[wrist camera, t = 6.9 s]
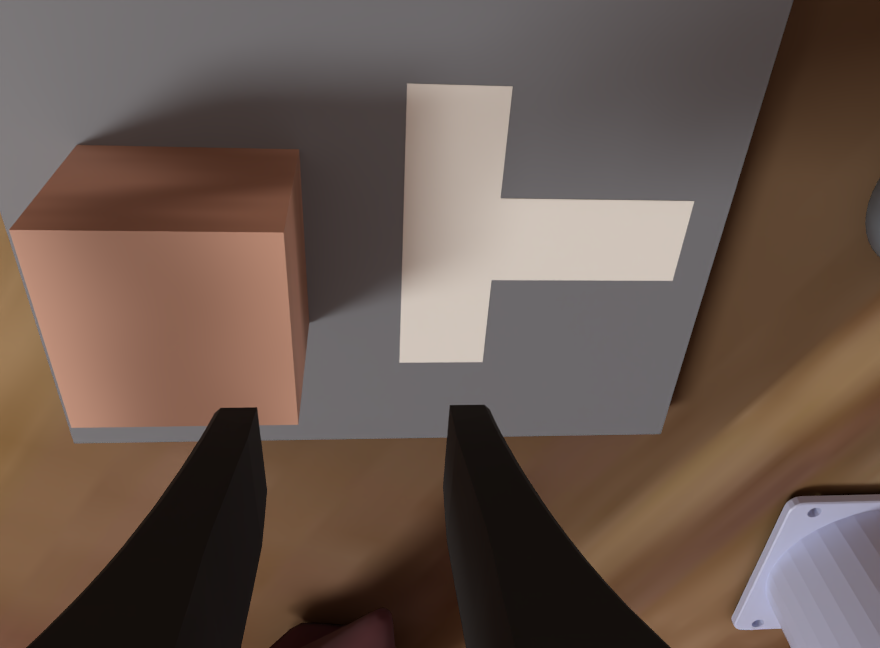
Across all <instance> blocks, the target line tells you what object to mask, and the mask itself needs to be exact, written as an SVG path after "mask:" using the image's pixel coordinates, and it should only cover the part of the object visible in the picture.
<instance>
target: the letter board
mask: <svg viewBox="0 0 880 648" xmlns="http://www.w3.org/2000/svg"><path fill="white" fill-rule="evenodd" d="M792 3H793V0H0V212H1V215H2V218H3V221H4V225H5V228H6V231H7V234H8V237H9V240H10V243H11V247H12V250H13V253H14V256H15V259H16V262H17V265H18V269H19V272H20V275H21V278H22V281H23V284H24V287H25V291H26V294H27V297H28V300H29V303H30V306H31V309H32V313H33V316H34V319H35V322H36V325H37V328H38V331H39V335H40V338H41V341H42V344H43V347H44V350H45V353H46V357H47V360H48V363H49V366H50V369H51V372H52V375H53V379H54V382H55V385H56V388H57V391H58V394H59V397H60V401H61V404H62V407H63V410H64V413H65V416H66V419H67V423H68V426H69V429H70V432H71V435H72V438H73V441H74V443H124V442H187V441H199V439H200V438H201V436H202V434H203V433H204V431H205V429H206V427H207V426H171V427H98V428H71V425H70V422H69V419H68V415H67V412H66V409H65V406H64V403H63V400H62V396H61V393H60V390H59V387H58V384H57V381H56V377H55V374H54V371H53V368H52V365H51V362H50V358H49V355H48V352H47V349H46V346H45V342H44V339H43V336H42V333H41V330H40V327H39V323H38V320H37V317H36V314H35V311H34V308H33V304H32V301H31V298H30V295H29V292H28V289H27V285H26V282H25V279H24V276H23V273H22V269H21V266H20V263H19V260H18V257H17V254H16V250H15V247H14V244H13V241H12V238H11V235H10V231H9V229H10V228H11V227H12V226H13V224H14V223H15V222H16V221H17V219H18V218H19V217H20V216H21V214H22V213H23V212H24V210H25V209H26V208H27V207H28V205H29V204H30V203H31V202H32V200H33V199H34V198H35V197H36V195H37V194H38V193H39V192H40V190H41V189H42V188H43V187H44V185H45V184H46V183H47V182H48V180H49V179H50V178H51V177H52V175H53V174H54V173H55V171H56V170H57V169H58V168H59V166H60V165H61V164H62V163H63V161H64V160H65V159H66V158H67V156H68V155H69V154H70V153H71V151H72V150H73V149H74V148H75V146H76V145H105V146H156V147H206V148H256V149H299V155H300V172H301V190H302V207H303V224H304V241H305V258H306V275H307V293H308V310H309V330H308V339H307V349H306V358H305V367H304V376H303V386H302V395H301V404H300V413H299V422H298V425H259V427H260V436H261V440H313V439H376V438H439V437H447V432H448V420H449V408H450V405H485V406H487V407H488V408H489V409H490V411H491V413H492V415H493V417H494V420H495V422H496V424H497V426H498V428H499V430H500V432H501V434H502V436H565V435H628V434H661V431H662V428H663V424H664V421H665V418H666V415H667V411H668V408H669V405H670V402H671V398H672V395H673V392H674V388H675V385H676V382H677V379H678V375H679V372H680V369H681V366H682V362H683V359H684V356H685V353H686V349H687V346H688V343H689V340H690V336H691V333H692V330H693V326H694V323H695V320H696V317H697V313H698V310H699V307H700V304H701V300H702V297H703V294H704V291H705V287H706V284H707V281H708V277H709V274H710V271H711V268H712V264H713V261H714V258H715V255H716V251H717V248H718V245H719V242H720V238H721V235H722V232H723V229H724V225H725V222H726V219H727V215H728V212H729V209H730V206H731V202H732V199H733V196H734V193H735V189H736V186H737V183H738V180H739V176H740V173H741V170H742V166H743V163H744V160H745V157H746V153H747V150H748V147H749V144H750V140H751V137H752V134H753V131H754V127H755V124H756V121H757V117H758V114H759V111H760V108H761V104H762V101H763V98H764V95H765V91H766V88H767V85H768V82H769V78H770V75H771V72H772V69H773V65H774V62H775V59H776V55H777V52H778V49H779V46H780V42H781V39H782V36H783V33H784V29H785V26H786V23H787V20H788V16H789V13H790V10H791V6H792Z"/></svg>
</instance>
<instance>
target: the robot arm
mask: <svg viewBox="0 0 880 648" xmlns="http://www.w3.org/2000/svg"><path fill="white" fill-rule="evenodd" d="M443 492H444V507H445V522H446V535H447V544H448V550H449V556H450V561H451V567H452V572H453V578H454V584H455V589H456V595H457V600H458V606H459V611H460V617H461V622H462V628H463V633H464V639H465V644H466V648H670V647H669V646H668V645H667V644H666V643H665V642H664V641H663V640H662V639H661V638H660V637H659V636H658V635H657V634H656V633H655V632H654V631H653V630H652V629H651V628H650V627H649V626H648V625H647V624H646V623H645V622H644V621H642V620H641V619H640V618H639V617H638V616H637V615H636V614H635V613H634V612H633V611H632V610H631V609H630V608H629V607H628V606H627V605H626V604H625V603H624V602H623V600H622V599H621V598H620V597H619V596H618V595H617V594H616V593H615V592H614V591H613V590H612V589H611V587H610V586H609V585H608V584H607V583H606V582H605V581H604V580H603V579H602V577H601V576H600V575H599V574H598V573H597V572H596V570H595V569H594V568H593V567H592V566H591V565H590V564H589V562H588V561H587V560H586V559H585V558H584V556H583V555H582V554H581V553H580V551H579V550H578V549H577V548H576V546H575V545H574V544H573V543H572V541H571V540H570V539H569V537H568V536H567V535H566V533H565V532H564V531H563V529H562V528H561V527H560V525H559V524H558V523H557V521H556V520H555V519H554V517H553V516H552V514H551V513H550V511H549V510H548V509H547V507H546V506H545V504H544V503H543V501H542V500H541V498H540V497H539V495H538V494H537V492H536V491H535V489H534V488H533V486H532V485H531V483H530V481H529V480H528V478H527V477H526V475H525V474H524V472H523V470H522V469H521V467H520V466H519V464H518V462H517V460H516V459H515V457H514V455H513V454H512V452H511V450H510V448H509V447H508V445H507V443H506V441H505V439H504V437H503V436H502V434H501V432H500V430H499V428H498V426H497V424H496V422H495V420H494V417H493V415H492V413H491V411H490V409H489V408H488V407H487V406H485V405H450V408H449V420H448V432H447V445H446V457H445V470H444V482H443ZM266 496H267V486H266V478H265V469H264V461H263V452H262V444H261V436H260V427H259V419H258V410H257V407H245V408H220V409H219V410H217V411H216V412H215V413H214V415H213V417H212V419H211V420H210V422H209V424H208V426H207V427H206V429H205V431H204V433H203V434H202V436H201V438H200V439H199V441H198V443H197V444H196V446H195V447H194V449H193V451H192V452H191V454H190V455H189V457H188V458H187V460H186V461H185V463H184V464H183V466H182V468H181V469H180V471H179V472H178V473H177V475H176V476H175V478H174V479H173V481H172V482H171V483H170V485H169V486H168V488H167V489H166V491H165V492H164V493H163V495H162V496H161V498H160V499H159V501H158V502H157V503H156V505H155V506H154V507H153V509H152V510H151V511H150V513H149V514H148V515H147V516H146V518H145V519H144V520H143V521H142V523H141V524H140V525H139V527H138V528H137V529H136V530H135V532H134V533H133V534H132V535H131V537H130V538H129V539H128V541H127V542H126V543H125V544H124V546H123V547H122V548H121V549H120V550H119V552H118V553H117V554H116V555H115V556H114V557H113V559H112V560H111V561H110V562H109V563H108V564H107V566H106V567H105V568H104V569H103V570H102V571H101V572H100V574H99V575H98V576H97V577H96V578H95V579H94V580H93V581H92V582H91V583H90V584H89V586H88V587H87V588H86V589H85V590H84V591H83V592H82V593H81V594H80V595H79V596H78V597H77V598H76V599H75V600H74V601H73V602H72V603H71V604H70V605H69V606H68V607H67V608H66V609H65V610H64V611H63V612H62V613H61V614H60V615H59V616H58V617H57V618H56V619H55V620H54V621H53V622H52V623H51V624H50V625H49V626H48V627H47V628H46V629H45V630H44V631H43V632H42V633H41V634H40V635H39V636H38V637H37V638H36V639H35V640H34V641H33V642H32V643H31V644H30V645H29V646H27V647H26V648H241V644H242V639H243V634H244V630H245V625H246V620H247V615H248V611H249V606H250V601H251V596H252V592H253V587H254V582H255V577H256V572H257V567H258V562H259V558H260V553H261V548H262V539H263V529H264V519H265V507H266ZM731 620H732V622H733V624H734V626H735V628H737V629H739V630H756V629H780V628H782V630H783V632H784V634H785V636H786V638H787V640H788V642H789V644H790V647H791V648H880V494H869V495H828V496H798V497H794V498H792V499H790V500H789V501H788V502H787V503H786V504H785V506H784V508H783V510H782V512H781V514H780V516H779V518H778V520H777V522H776V525H775V527H774V529H773V531H772V533H771V535H770V537H769V539H768V541H767V544H766V546H765V548H764V550H763V552H762V554H761V556H760V558H759V561H758V563H757V565H756V567H755V569H754V571H753V573H752V575H751V577H750V580H749V582H748V584H747V586H746V588H745V590H744V592H743V594H742V596H741V599H740V601H739V603H738V605H737V607H736V609H735V611H734V613H733V615H732V619H731Z"/></svg>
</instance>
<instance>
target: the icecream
mask: <svg viewBox="0 0 880 648" xmlns="http://www.w3.org/2000/svg"><path fill="white" fill-rule="evenodd" d="M270 648H395V639H394V628H393V619H392V614H391V613H390V611H389V610H388V609H385V608H380V609H377V610H375V611H372V612H370V613H368V614H366V615H364V616H363V617H361V618H359V619H357V620H355V621H353V622H352V623H350V624H348V625H332V624H321V623H301V624H299V625H297V626H295V627H293V628H292V629H290V630H289V631H288V632H286V633H285V634H284V635H283V636H282V637H281V638H280V639H279V640H278V641H276V642H275V643H274V644H273V645H272V646H271V647H270Z"/></svg>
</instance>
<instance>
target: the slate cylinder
mask: <svg viewBox="0 0 880 648" xmlns="http://www.w3.org/2000/svg"><path fill="white" fill-rule="evenodd" d="M866 233H867V237H868V241H869V243H870V245H871V247H872V249H873V250H874V251H875V253H876V254H877V255H878V256H879V257H880V179H879V180H878V182H877V184H876V186H875V188H874V190H873V192H872V195H871V198H870V201H869V203H868V208H867V213H866Z"/></svg>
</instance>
